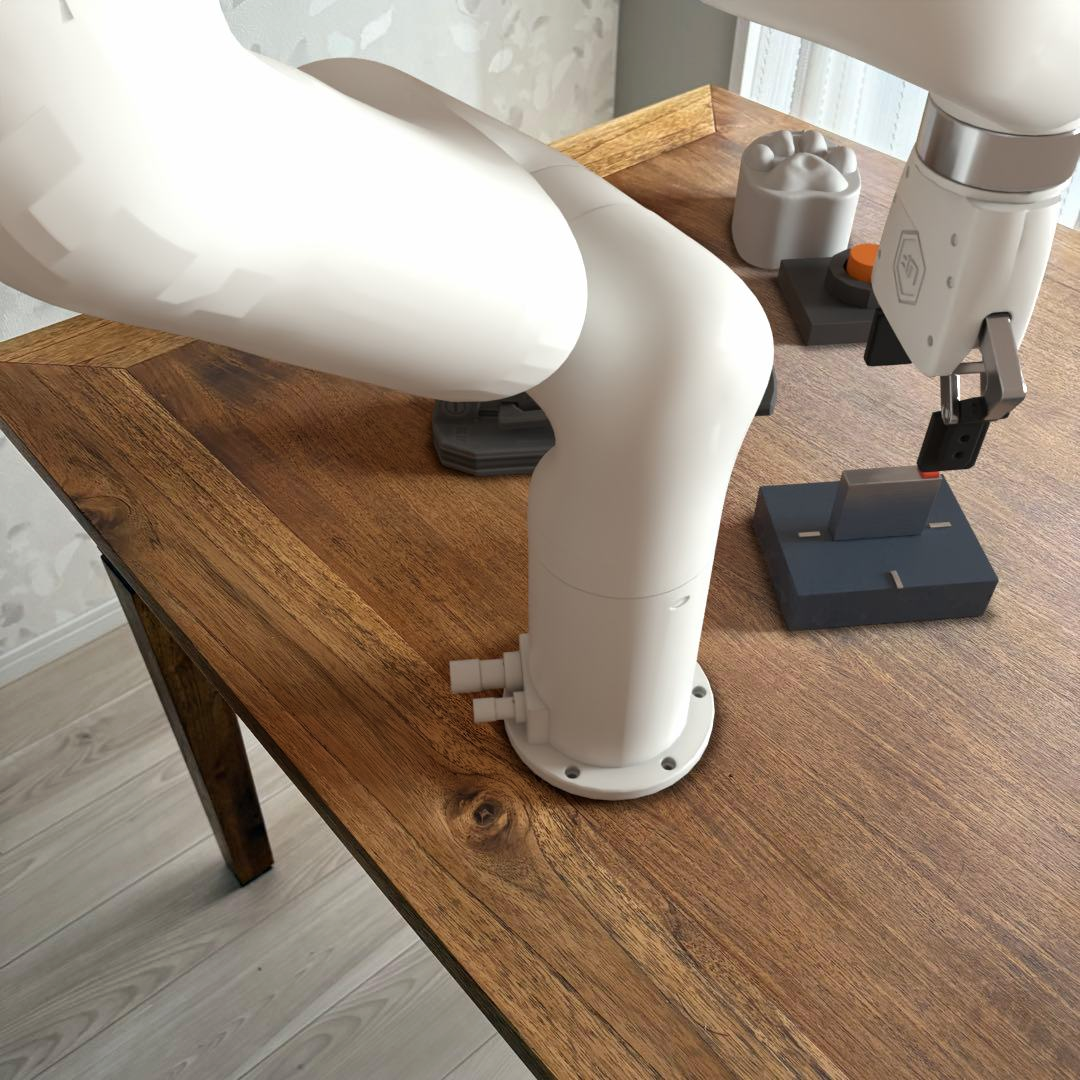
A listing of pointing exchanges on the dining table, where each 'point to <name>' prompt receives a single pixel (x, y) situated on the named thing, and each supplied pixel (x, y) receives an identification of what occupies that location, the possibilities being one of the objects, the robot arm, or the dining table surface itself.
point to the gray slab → (883, 502)
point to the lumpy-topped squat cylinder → (794, 198)
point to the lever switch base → (868, 563)
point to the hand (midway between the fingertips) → (914, 412)
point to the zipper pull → (509, 432)
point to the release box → (827, 300)
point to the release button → (862, 261)
